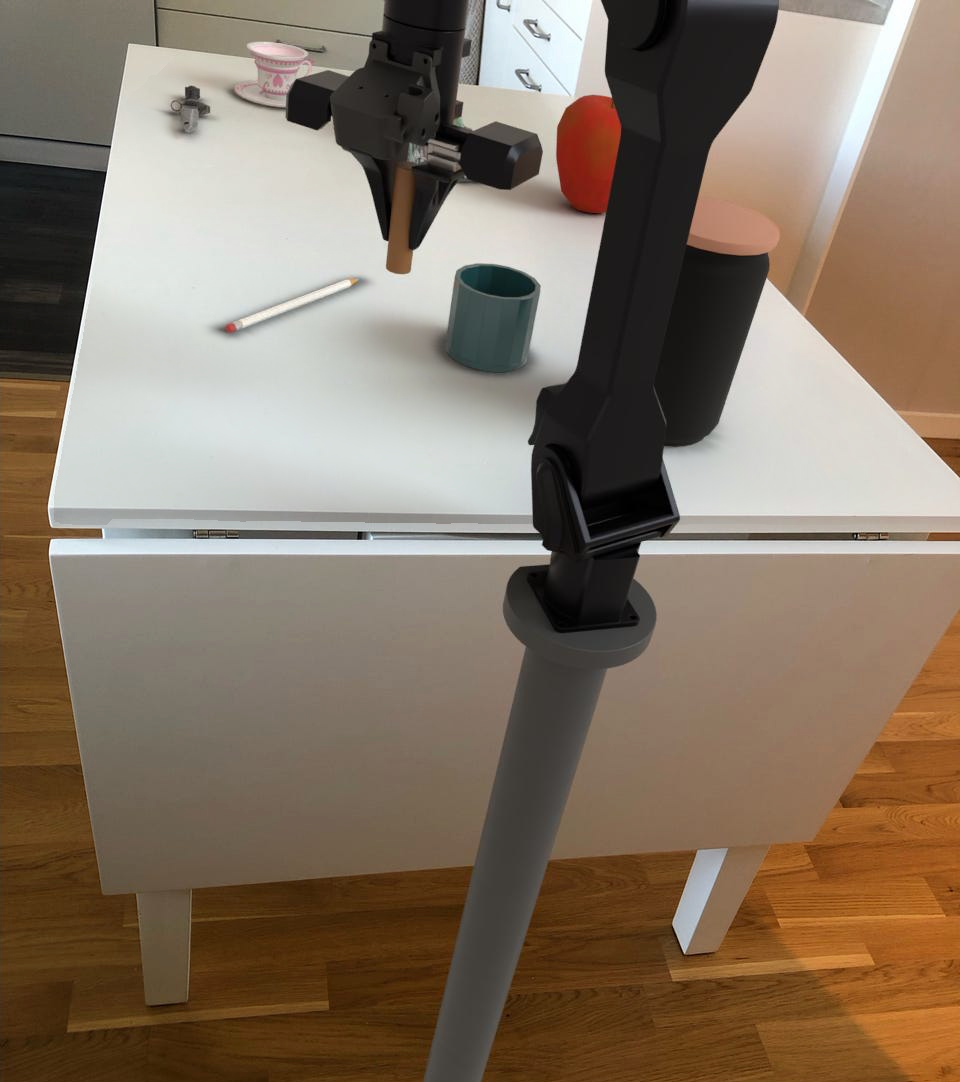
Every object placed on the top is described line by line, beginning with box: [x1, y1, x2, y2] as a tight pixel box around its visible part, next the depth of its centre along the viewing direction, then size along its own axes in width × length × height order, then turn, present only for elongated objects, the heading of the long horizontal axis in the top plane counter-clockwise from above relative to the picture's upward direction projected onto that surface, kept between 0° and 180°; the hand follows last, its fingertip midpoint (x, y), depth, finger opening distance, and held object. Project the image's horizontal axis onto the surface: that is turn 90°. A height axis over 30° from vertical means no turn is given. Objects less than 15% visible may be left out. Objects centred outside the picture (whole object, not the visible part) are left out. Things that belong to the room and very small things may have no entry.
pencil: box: [224, 278, 360, 334], centre depth 103 cm, size 1×19×1 cm, turn 146°
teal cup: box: [445, 262, 542, 373], centre depth 99 cm, size 8×8×7 cm
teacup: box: [233, 41, 315, 108], centre depth 153 cm, size 12×12×6 cm
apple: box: [555, 94, 621, 214], centre depth 133 cm, size 12×12×14 cm
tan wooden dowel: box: [385, 161, 417, 275], centre depth 83 cm, size 2×2×8 cm
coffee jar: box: [654, 194, 781, 447], centre depth 91 cm, size 11×11×18 cm
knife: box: [170, 85, 211, 134], centre depth 140 cm, size 19×2×5 cm
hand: (400, 244), depth 84 cm, fingers closed on tan wooden dowel, 2 cm apart
